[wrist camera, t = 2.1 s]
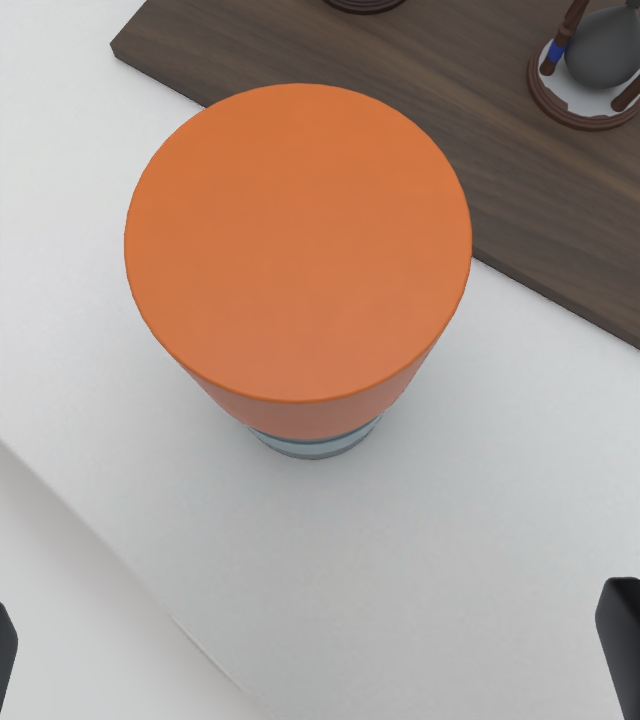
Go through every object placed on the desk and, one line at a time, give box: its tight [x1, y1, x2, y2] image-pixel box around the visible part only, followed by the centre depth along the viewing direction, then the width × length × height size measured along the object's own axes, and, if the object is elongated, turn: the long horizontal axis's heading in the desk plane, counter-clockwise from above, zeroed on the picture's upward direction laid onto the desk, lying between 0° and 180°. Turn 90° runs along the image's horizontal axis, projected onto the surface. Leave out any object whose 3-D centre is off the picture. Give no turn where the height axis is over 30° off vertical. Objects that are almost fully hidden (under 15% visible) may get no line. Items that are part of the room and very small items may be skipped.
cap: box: [124, 83, 472, 439], centre depth 13 cm, size 6×6×5 cm
